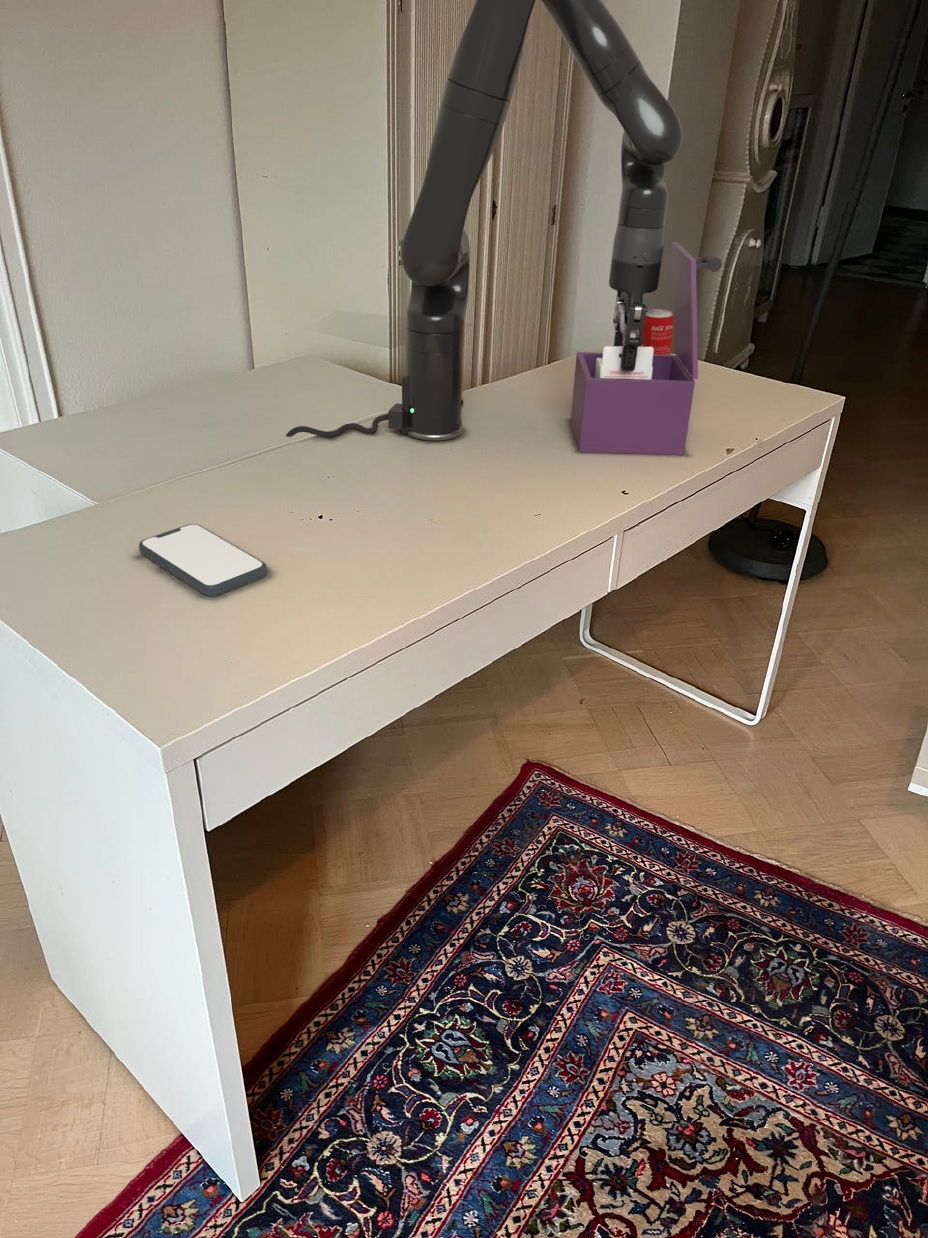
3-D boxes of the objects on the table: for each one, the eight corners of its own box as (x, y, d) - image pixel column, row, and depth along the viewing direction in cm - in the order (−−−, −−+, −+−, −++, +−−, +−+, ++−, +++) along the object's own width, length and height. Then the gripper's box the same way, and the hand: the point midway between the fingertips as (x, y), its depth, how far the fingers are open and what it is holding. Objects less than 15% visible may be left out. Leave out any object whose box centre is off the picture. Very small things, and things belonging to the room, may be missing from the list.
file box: (579, 452, 153) (586, 378, 147) (570, 420, 166) (576, 351, 160) (683, 455, 154) (695, 382, 147) (666, 422, 167) (676, 354, 161)
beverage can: (671, 391, 182) (682, 310, 175) (658, 399, 178) (669, 317, 170) (642, 385, 185) (652, 305, 177) (628, 393, 180) (638, 312, 173)
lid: (690, 260, 138) (729, 254, 138) (671, 242, 151) (707, 236, 151) (692, 379, 147) (729, 374, 147) (674, 352, 160) (708, 347, 160)
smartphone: (272, 576, 115) (197, 531, 125) (271, 564, 115) (195, 520, 124) (209, 601, 110) (135, 553, 119) (207, 589, 109) (133, 541, 118)
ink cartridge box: (639, 426, 162) (650, 339, 154) (645, 437, 158) (656, 347, 150) (589, 426, 161) (597, 338, 154) (593, 436, 157) (602, 346, 150)
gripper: (606, 246, 151) (594, 349, 160) (618, 264, 139) (605, 374, 148) (653, 248, 152) (639, 351, 160) (670, 266, 139) (654, 376, 148)
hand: (623, 362), depth 154 cm, fingers open, 8 cm apart
